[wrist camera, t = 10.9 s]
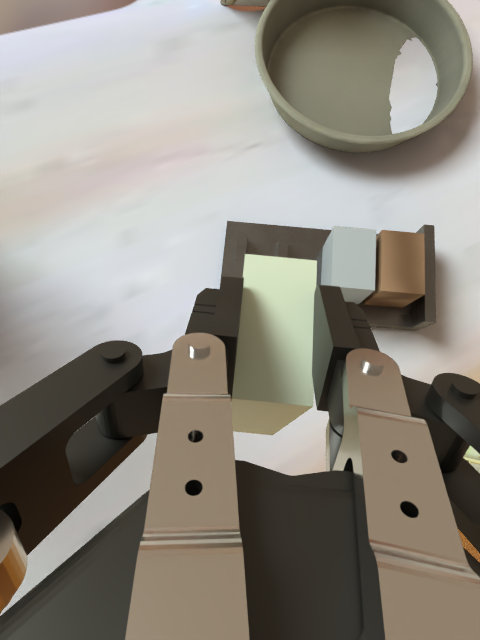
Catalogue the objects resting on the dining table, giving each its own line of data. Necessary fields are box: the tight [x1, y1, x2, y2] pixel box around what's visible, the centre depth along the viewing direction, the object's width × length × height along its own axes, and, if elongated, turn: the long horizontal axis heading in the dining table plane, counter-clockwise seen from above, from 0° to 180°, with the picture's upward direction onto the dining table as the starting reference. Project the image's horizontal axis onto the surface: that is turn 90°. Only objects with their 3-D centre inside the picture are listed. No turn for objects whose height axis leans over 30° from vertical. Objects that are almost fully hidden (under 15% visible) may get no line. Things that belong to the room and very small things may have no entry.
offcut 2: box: [364, 230, 425, 308], centre depth 39 cm, size 4×6×5 cm, turn 174°
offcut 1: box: [321, 226, 376, 304], centre depth 39 cm, size 4×6×5 cm, turn 175°
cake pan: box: [255, 0, 473, 153], centre depth 46 cm, size 25×25×4 cm
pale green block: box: [231, 254, 317, 435], centre depth 18 cm, size 2×5×12 cm, turn 175°
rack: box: [220, 221, 436, 330], centre depth 40 cm, size 21×10×4 cm, turn 85°
